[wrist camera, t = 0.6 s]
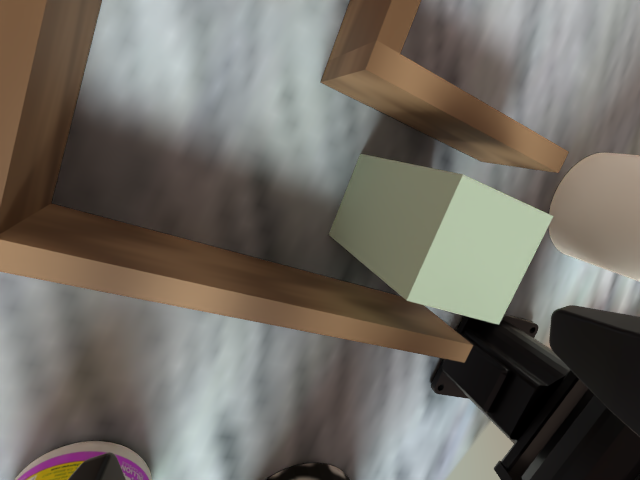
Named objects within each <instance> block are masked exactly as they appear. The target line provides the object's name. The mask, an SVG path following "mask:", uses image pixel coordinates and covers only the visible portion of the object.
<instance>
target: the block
mask: <svg viewBox="0 0 640 480" xmlns="http://www.w3.org/2000/svg"><path fill="white" fill-rule="evenodd" d="M552 218H553V216H552V215H549V214H547V213H545V212H543V211H541V210H539V209H536V208H534V207H532V206H530V205H528V204H526V203H523V202H521V201H519V200H517V199H515V198H513V197H510V196H508V195H506V194H504V193H502V192H500V191H497V190H495V189H493V188H491V187H489V186H487V185H484V184H482V183H480V182H478V181H476V180H474V179H471V178H469V177H467V176H465V175H463V174H458V173H453V172H448V171H443V170H438V169H433V168H428V167H423V166H418V165H414V164H409V163H404V162H399V161H394V160H389V159H384V158H379V157H374V156H369V155H365V154H360V156H359V159H358V161H357V164H356V166H355V169H354V171H353V174H352V176H351V179H350V181H349V184H348V187H347V189H346V192H345V194H344V197H343V199H342V202H341V204H340V207H339V209H338V212H337V214H336V217H335V220H334V222H333V225H332V227H331V230H330V232H329V235H330V236H331V237H332V238H333V239H334V240H335V241H337V242H338V243H339V244H340V245H341V246H343V247H344V248H345V249H346V250H347V251H348V252H350V253H351V254H352V255H353V256H354V257H356V258H357V259H358V260H359V261H360V262H362V263H363V264H364V265H365V266H366V267H367V268H369V269H370V270H371V271H372V272H373V273H375V274H376V275H377V276H378V277H379V278H380V279H382V280H383V281H384V282H385V283H386V284H388V285H389V286H390V287H391V288H392V289H393V290H395V291H396V292H397V293H398V294H399V295H401V296H402V297H403V298H404V299H405V300H407V301H410V302H414V303H418V304H422V305H425V306H429V307H433V308H437V309H441V310H444V311H448V312H452V313H456V314H460V315H464V316H467V317H471V318H475V319H479V320H483V321H486V322H490V323H494V324H498V325H499V324H500V322H501V320H502V318H503V316H504V314H505V312H506V310H507V308H508V306H509V304H510V302H511V300H512V298H513V296H514V294H515V292H516V290H517V288H518V286H519V284H520V282H521V280H522V278H523V276H524V274H525V272H526V270H527V268H528V266H529V264H530V262H531V260H532V258H533V256H534V254H535V252H536V250H537V248H538V246H539V244H540V242H541V240H542V238H543V236H544V234H545V232H546V230H547V228H548V226H549V224H550V222H551V220H552Z"/></svg>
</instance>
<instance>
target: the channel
mask: <svg viewBox="0 0 640 480" xmlns="http://www.w3.org/2000/svg"><path fill="white" fill-rule="evenodd" d="M101 2H102V0H0V272H5V273H10V274H15V275H20V276H25V277H30V278H36V279H41V280H46V281H51V282H56V283H61V284H66V285H71V286H76V287H81V288H87V289H92V290H97V291H102V292H107V293H112V294H117V295H122V296H127V297H132V298H138V299H143V300H148V301H153V302H158V303H163V304H168V305H173V306H178V307H184V308H189V309H194V310H199V311H204V312H209V313H214V314H219V315H224V316H229V317H235V318H240V319H245V320H250V321H255V322H260V323H265V324H270V325H275V326H280V327H286V328H291V329H296V330H301V331H306V332H311V333H316V334H321V335H326V336H331V337H337V338H342V339H347V340H352V341H357V342H362V343H367V344H372V345H377V346H383V347H388V348H393V349H398V350H403V351H408V352H413V353H418V354H423V355H428V356H434V357H439V358H444V359H449V360H454V361H459V362H464V363H465V361H466V359H467V357H468V355H469V353H470V351H471V349H472V347H473V345H472V344H471V343H470V342H469V341H467V340H466V339H465V338H464V337H462V336H461V335H460V334H459V333H457V332H456V331H455V330H454V329H452V328H451V327H450V326H449V325H448V324H446V323H445V322H444V321H443V320H441V319H440V318H439V317H438V316H436V315H435V314H434V313H433V312H431V311H430V310H429V309H428V308H426V307H425V306H424V305H422V304H418V303H414V302H410V301H407V300H405V299H404V298H403V297H402V296H398V295H394V294H390V293H387V292H383V291H379V290H375V289H372V288H368V287H364V286H360V285H357V284H353V283H349V282H345V281H341V280H338V279H334V278H330V277H326V276H323V275H319V274H315V273H311V272H308V271H304V270H300V269H296V268H293V267H289V266H285V265H281V264H278V263H274V262H270V261H266V260H263V259H259V258H255V257H251V256H247V255H244V254H240V253H236V252H232V251H229V250H225V249H221V248H217V247H214V246H210V245H206V244H202V243H199V242H195V241H191V240H187V239H184V238H180V237H176V236H172V235H169V234H165V233H161V232H157V231H153V230H150V229H146V228H142V227H138V226H135V225H131V224H127V223H123V222H120V221H116V220H112V219H108V218H105V217H101V216H97V215H93V214H90V213H86V212H82V211H78V210H75V209H71V208H67V207H63V206H59V205H56V204H52V199H53V195H54V191H55V187H56V183H57V179H58V175H59V171H60V167H61V163H62V159H63V155H64V151H65V147H66V142H67V138H68V134H69V130H70V126H71V122H72V118H73V114H74V110H75V106H76V102H77V98H78V94H79V90H80V86H81V82H82V78H83V74H84V70H85V66H86V62H87V58H88V54H89V50H90V46H91V42H92V38H93V34H94V30H95V26H96V22H97V18H98V14H99V10H100V6H101ZM420 2H421V0H350V2H349V5H348V8H347V11H346V13H345V16H344V19H343V22H342V24H341V27H340V30H339V33H338V35H337V38H336V41H335V44H334V46H333V49H332V52H331V55H330V57H329V60H328V63H327V66H326V69H325V71H324V74H323V77H322V80H321V83H323V84H325V85H327V86H329V87H331V88H333V89H335V90H337V91H339V92H341V93H343V94H345V95H347V96H349V97H351V98H353V99H355V100H357V101H359V102H361V103H363V104H365V105H367V106H370V107H372V108H374V109H376V110H378V111H380V112H382V113H384V114H386V115H388V116H390V117H392V118H394V119H396V120H398V121H400V122H402V123H404V124H406V125H408V126H410V127H412V128H414V129H416V130H418V131H420V132H422V133H424V134H426V135H428V136H430V137H432V138H434V139H436V140H439V141H441V142H443V143H445V144H447V145H449V146H451V147H453V148H455V149H457V150H459V151H461V152H463V153H465V154H467V155H469V156H471V157H473V158H475V159H477V160H479V161H481V162H487V163H494V164H501V165H508V166H514V167H521V168H528V169H535V170H542V171H548V172H555V173H559V171H560V169H561V167H562V165H563V163H564V161H565V159H566V157H567V155H568V153H569V152H568V151H567V150H565V149H563V148H561V147H560V146H558V145H556V144H555V143H553V142H551V141H549V140H548V139H546V138H544V137H542V136H541V135H539V134H537V133H536V132H534V131H532V130H530V129H529V128H527V127H525V126H524V125H522V124H520V123H518V122H517V121H515V120H513V119H511V118H510V117H508V116H506V115H505V114H503V113H501V112H499V111H498V110H496V109H494V108H493V107H491V106H489V105H487V104H486V103H484V102H482V101H480V100H479V99H477V98H475V97H474V96H472V95H470V94H468V93H467V92H465V91H463V90H462V89H460V88H458V87H456V86H455V85H453V84H451V83H449V82H448V81H446V80H444V79H443V78H441V77H439V76H437V75H436V74H434V73H432V72H431V71H429V70H427V69H425V68H424V67H422V66H420V65H418V64H417V63H415V62H413V61H412V60H410V59H408V58H406V57H405V56H403V55H401V54H400V53H401V50H402V48H403V45H404V43H405V40H406V38H407V35H408V32H409V30H410V27H411V25H412V22H413V20H414V17H415V15H416V12H417V10H418V7H419V5H420Z"/></svg>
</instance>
